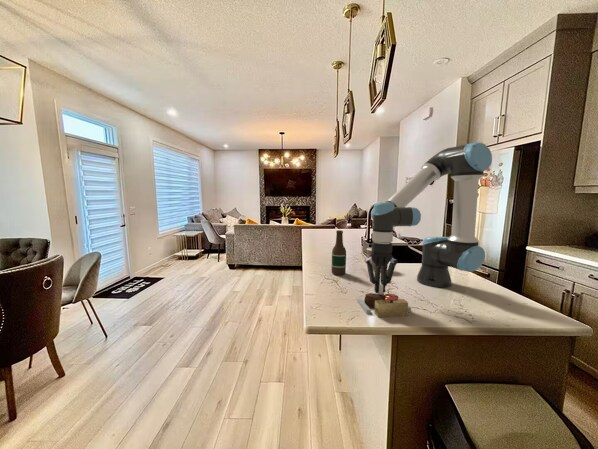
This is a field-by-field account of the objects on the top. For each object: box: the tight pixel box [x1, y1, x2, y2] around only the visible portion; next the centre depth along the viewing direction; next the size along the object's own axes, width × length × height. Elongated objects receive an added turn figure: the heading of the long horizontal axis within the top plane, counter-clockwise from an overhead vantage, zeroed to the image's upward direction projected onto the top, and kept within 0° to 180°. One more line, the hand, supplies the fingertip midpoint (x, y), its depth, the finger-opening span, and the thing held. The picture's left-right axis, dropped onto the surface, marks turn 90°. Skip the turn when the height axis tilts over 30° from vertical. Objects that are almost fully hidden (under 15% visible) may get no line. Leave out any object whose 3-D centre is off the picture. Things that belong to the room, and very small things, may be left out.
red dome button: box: [374, 293, 409, 318], centre depth 89 cm, size 11×4×7 cm, turn 96°
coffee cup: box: [366, 246, 381, 271], centre depth 147 cm, size 10×10×12 cm
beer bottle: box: [331, 229, 347, 276], centre depth 137 cm, size 8×8×24 cm
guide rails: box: [356, 297, 412, 315], centre depth 96 cm, size 17×10×2 cm, turn 96°
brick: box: [363, 292, 388, 309], centre depth 96 cm, size 11×4×5 cm, turn 63°
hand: (379, 300), depth 99 cm, fingers closed
